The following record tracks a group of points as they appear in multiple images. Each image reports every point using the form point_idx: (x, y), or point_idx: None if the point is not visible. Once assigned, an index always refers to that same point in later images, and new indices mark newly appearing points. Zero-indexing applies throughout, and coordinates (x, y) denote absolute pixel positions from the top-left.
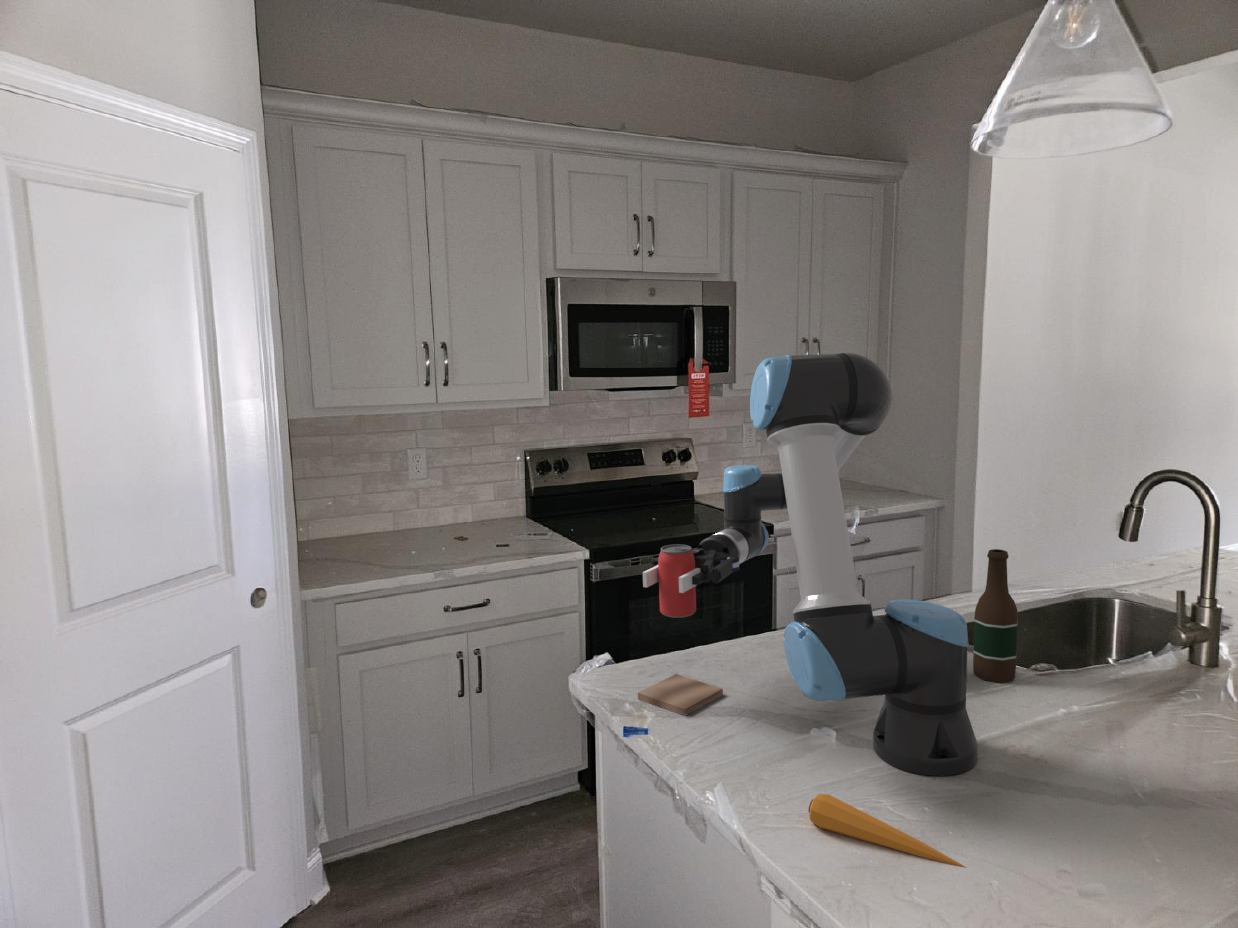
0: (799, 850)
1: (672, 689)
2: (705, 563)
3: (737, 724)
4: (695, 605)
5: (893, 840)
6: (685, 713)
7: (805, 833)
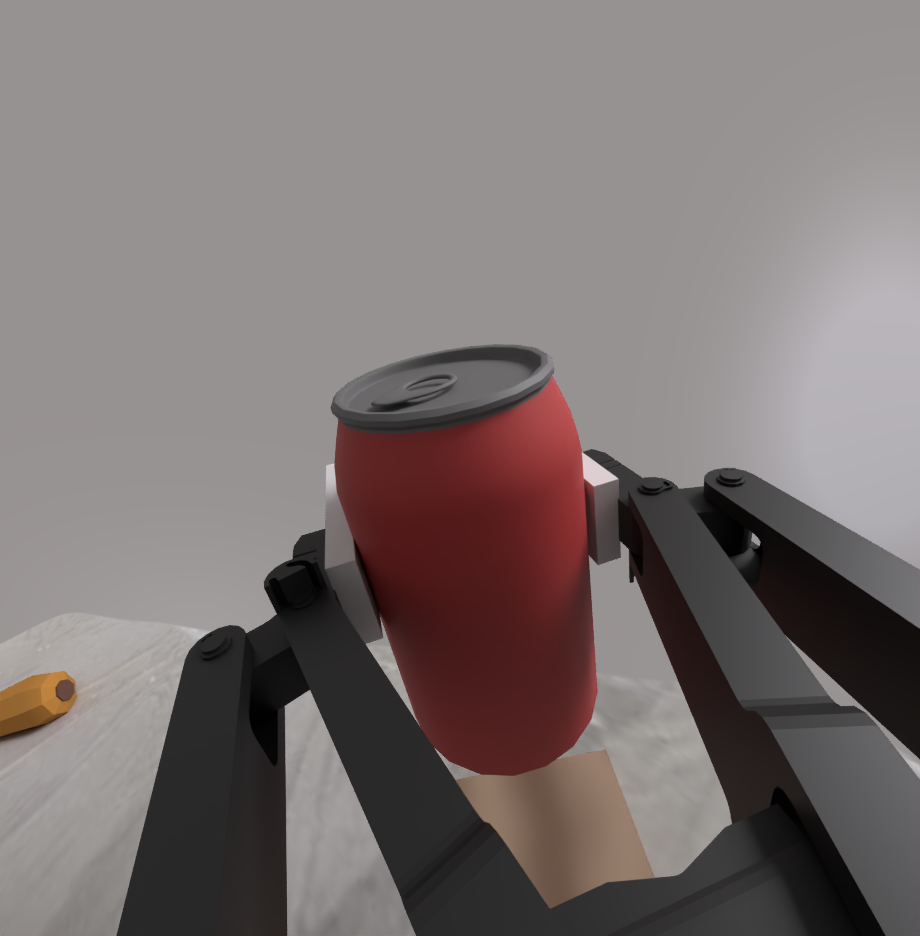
0: (100, 648)
1: (566, 860)
2: (382, 691)
3: (288, 883)
4: (417, 714)
5: None
6: None
7: (90, 675)
